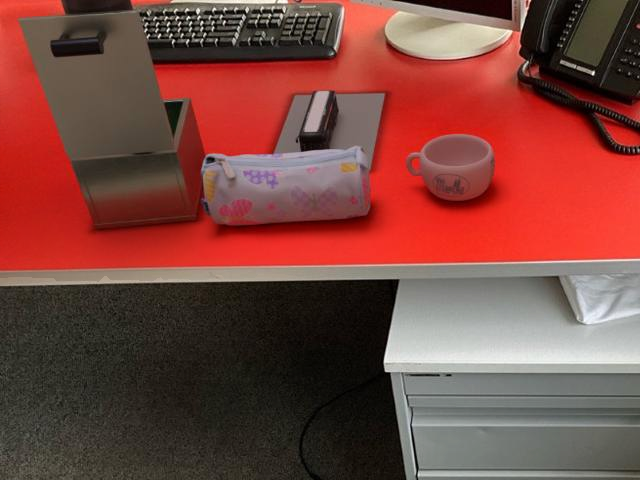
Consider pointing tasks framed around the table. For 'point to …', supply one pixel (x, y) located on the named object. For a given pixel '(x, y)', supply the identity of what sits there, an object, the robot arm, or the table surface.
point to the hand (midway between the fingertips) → (134, 124)
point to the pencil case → (286, 186)
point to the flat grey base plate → (332, 122)
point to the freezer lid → (99, 82)
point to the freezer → (147, 178)
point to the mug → (455, 166)
